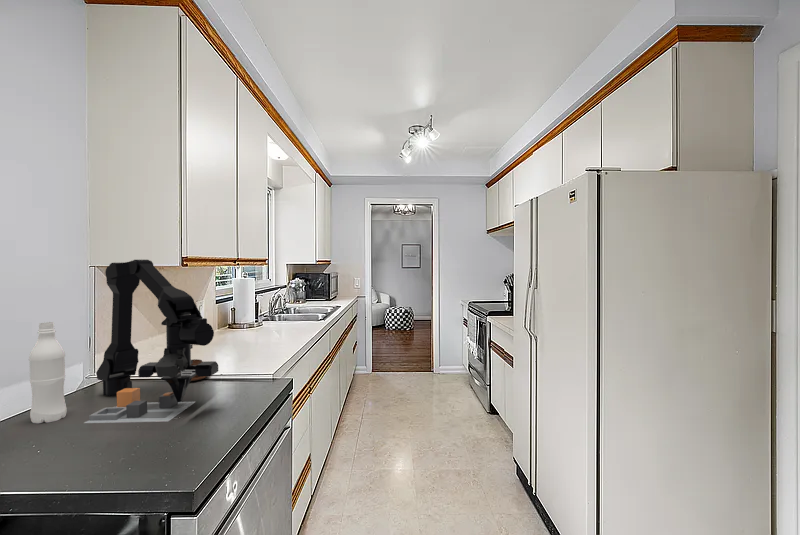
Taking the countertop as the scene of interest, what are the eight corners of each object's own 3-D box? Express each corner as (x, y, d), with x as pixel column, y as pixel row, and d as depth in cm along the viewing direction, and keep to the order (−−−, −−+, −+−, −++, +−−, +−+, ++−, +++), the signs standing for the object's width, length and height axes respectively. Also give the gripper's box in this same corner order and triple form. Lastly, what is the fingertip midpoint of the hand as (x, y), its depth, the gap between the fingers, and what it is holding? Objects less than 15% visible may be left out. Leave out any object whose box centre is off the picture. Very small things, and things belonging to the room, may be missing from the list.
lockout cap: (116, 407, 125) (116, 392, 125) (125, 402, 129) (125, 388, 129) (132, 407, 125) (131, 392, 125) (140, 402, 129) (140, 388, 129)
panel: (83, 429, 113) (83, 410, 113) (121, 408, 129) (121, 391, 129) (168, 427, 113) (167, 408, 113) (196, 407, 129) (195, 390, 129)
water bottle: (73, 421, 119) (71, 321, 119) (44, 431, 112) (41, 325, 112) (53, 418, 122) (51, 320, 121) (23, 428, 115) (20, 324, 114)
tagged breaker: (159, 408, 123) (159, 395, 123) (166, 403, 127) (166, 391, 127) (170, 407, 123) (170, 395, 123) (177, 403, 127) (177, 391, 127)
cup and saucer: (181, 375, 167) (181, 358, 167) (215, 375, 167) (215, 357, 167) (163, 384, 155) (163, 365, 155) (200, 384, 155) (199, 365, 155)
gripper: (125, 348, 117) (127, 412, 117) (202, 347, 117) (203, 410, 118) (148, 341, 128) (149, 398, 128) (218, 340, 129) (219, 397, 129)
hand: (179, 401), depth 126 cm, fingers closed
